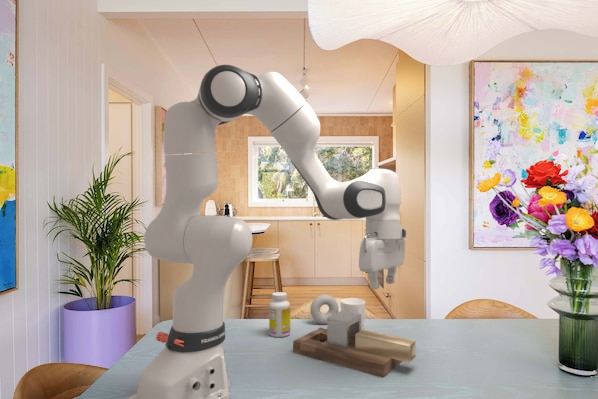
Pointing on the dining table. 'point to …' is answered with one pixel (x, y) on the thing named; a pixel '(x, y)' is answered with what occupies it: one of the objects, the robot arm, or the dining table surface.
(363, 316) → the white cup
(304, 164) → the robot arm
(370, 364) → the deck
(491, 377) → the dining table surface
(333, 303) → the donut
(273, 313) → the supplement bottle
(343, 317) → the tunnel
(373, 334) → the gold bar
